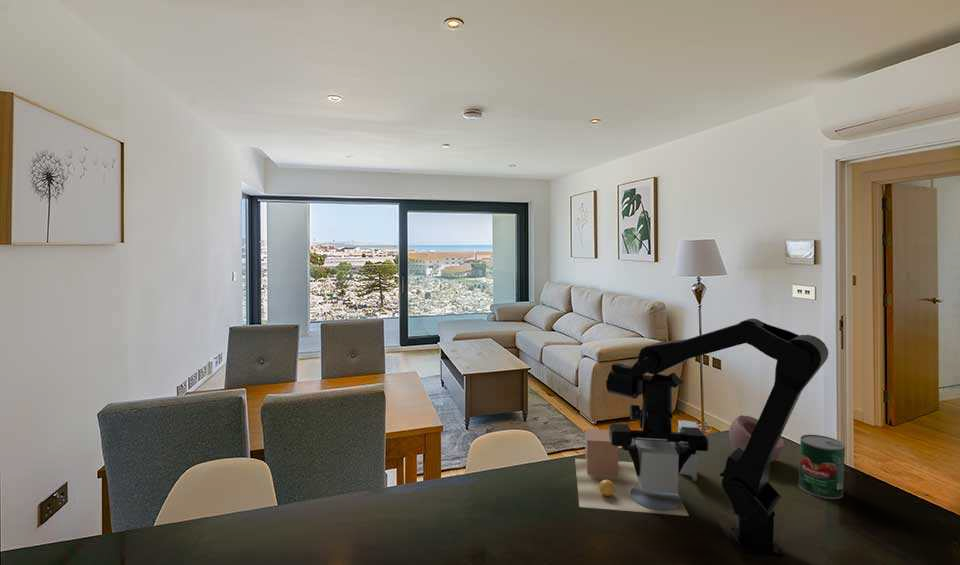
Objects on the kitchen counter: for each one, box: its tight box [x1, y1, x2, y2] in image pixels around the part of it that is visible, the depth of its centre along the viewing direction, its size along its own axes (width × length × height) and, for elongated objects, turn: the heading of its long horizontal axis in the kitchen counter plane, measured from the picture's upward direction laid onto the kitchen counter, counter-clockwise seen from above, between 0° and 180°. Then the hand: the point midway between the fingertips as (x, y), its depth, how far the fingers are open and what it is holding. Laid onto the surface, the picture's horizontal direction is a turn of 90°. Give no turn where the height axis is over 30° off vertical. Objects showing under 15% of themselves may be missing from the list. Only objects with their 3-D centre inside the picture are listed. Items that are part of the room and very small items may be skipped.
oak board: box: [574, 458, 690, 517], centre depth 101 cm, size 22×21×2 cm
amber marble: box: [599, 480, 615, 496], centre depth 96 cm, size 3×3×3 cm
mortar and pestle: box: [728, 414, 786, 463], centre depth 113 cm, size 12×12×12 cm
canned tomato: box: [797, 434, 846, 500], centre depth 99 cm, size 8×8×11 cm
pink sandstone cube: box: [584, 428, 619, 476], centre depth 108 cm, size 7×7×8 cm
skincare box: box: [677, 419, 699, 482], centre depth 107 cm, size 6×4×12 cm
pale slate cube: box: [635, 440, 679, 495], centre depth 94 cm, size 7×7×8 cm
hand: (656, 476), depth 95 cm, fingers closed on pale slate cube, 7 cm apart
